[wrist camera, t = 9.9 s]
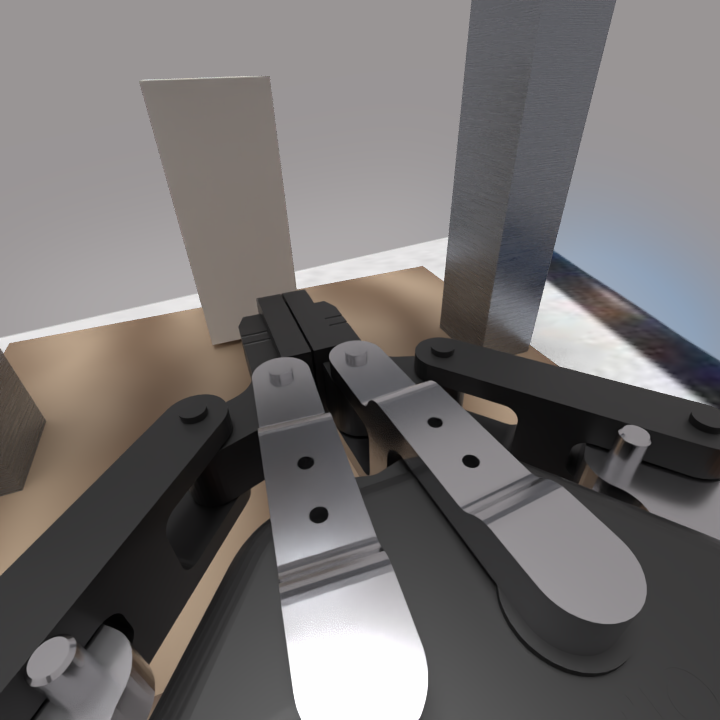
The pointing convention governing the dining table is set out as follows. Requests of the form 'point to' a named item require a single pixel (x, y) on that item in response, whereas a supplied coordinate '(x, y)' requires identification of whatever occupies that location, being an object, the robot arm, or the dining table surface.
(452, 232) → the grey two-legged stand
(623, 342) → the dining table surface
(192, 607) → the track board
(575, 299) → the dining table surface
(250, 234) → the plug
